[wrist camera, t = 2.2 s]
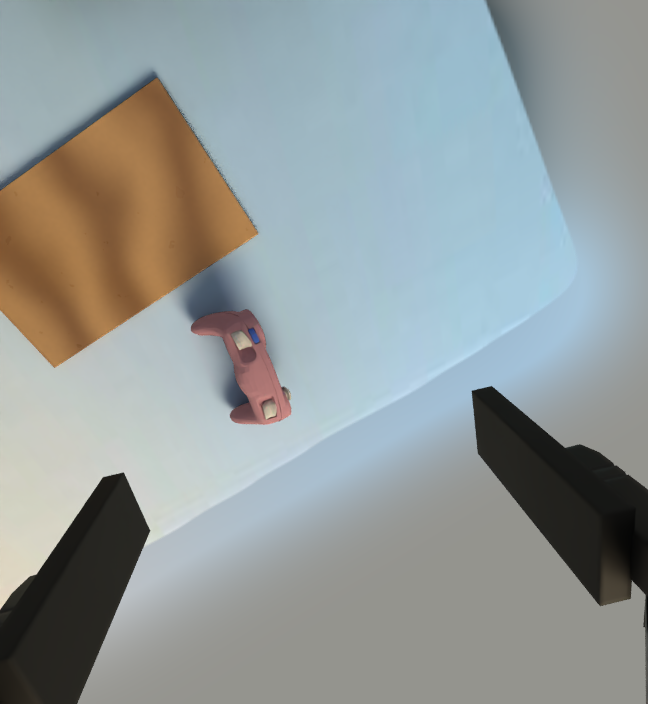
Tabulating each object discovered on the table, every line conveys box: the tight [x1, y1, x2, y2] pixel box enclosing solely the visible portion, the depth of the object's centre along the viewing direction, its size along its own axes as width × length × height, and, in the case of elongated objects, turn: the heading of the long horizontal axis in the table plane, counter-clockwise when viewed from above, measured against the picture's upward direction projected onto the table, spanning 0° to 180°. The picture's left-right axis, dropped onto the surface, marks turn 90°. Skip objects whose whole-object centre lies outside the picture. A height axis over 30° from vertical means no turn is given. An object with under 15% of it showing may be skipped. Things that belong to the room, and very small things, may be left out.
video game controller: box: [191, 309, 291, 425], centre depth 33 cm, size 10×5×7 cm, turn 18°
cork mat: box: [0, 78, 258, 368], centre depth 31 cm, size 20×12×1 cm, turn 122°
